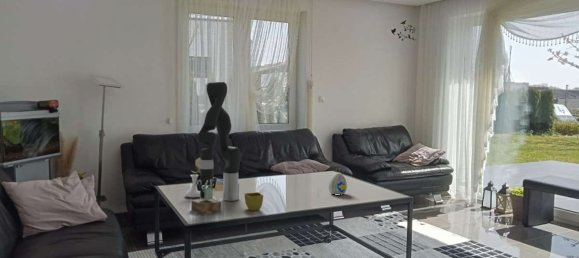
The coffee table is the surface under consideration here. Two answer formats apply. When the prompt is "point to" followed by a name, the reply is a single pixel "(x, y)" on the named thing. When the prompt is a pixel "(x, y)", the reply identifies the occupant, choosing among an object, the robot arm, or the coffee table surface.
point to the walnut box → (206, 206)
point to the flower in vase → (194, 182)
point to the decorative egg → (337, 184)
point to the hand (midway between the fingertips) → (206, 197)
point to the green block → (208, 193)
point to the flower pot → (253, 200)
